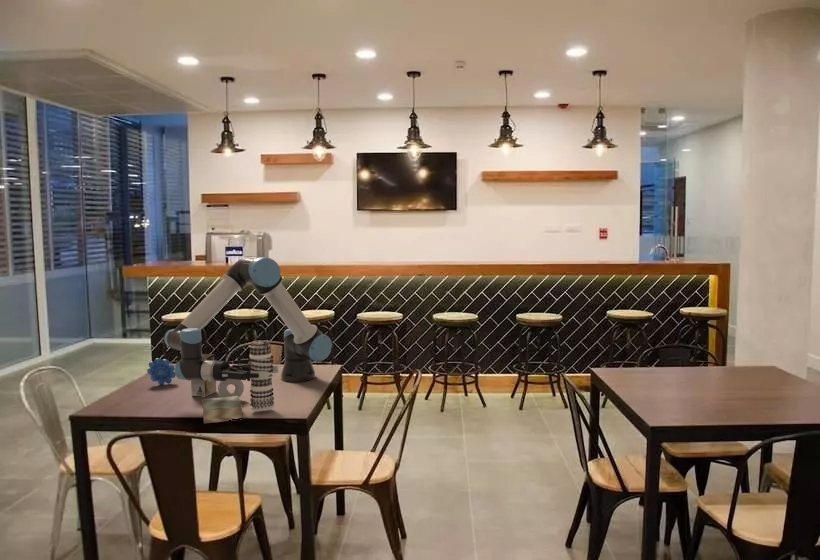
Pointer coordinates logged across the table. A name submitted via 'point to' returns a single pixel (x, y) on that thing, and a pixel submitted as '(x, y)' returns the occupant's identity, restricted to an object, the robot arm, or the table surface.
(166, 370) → the blue lobed piece
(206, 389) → the coffee box
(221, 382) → the donut
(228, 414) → the riser
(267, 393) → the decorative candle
